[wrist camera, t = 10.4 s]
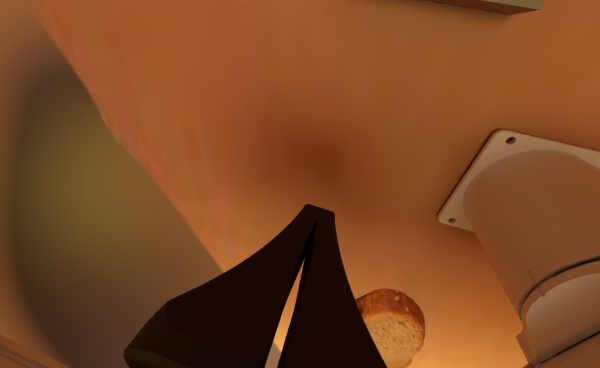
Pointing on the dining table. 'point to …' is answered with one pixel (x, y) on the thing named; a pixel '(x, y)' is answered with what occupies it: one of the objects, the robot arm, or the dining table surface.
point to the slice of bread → (393, 325)
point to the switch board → (497, 5)
